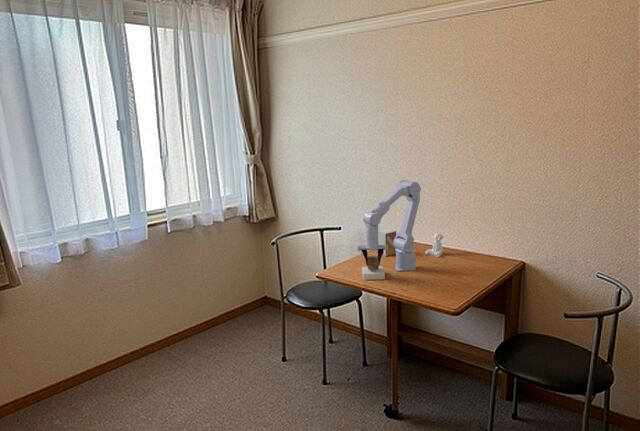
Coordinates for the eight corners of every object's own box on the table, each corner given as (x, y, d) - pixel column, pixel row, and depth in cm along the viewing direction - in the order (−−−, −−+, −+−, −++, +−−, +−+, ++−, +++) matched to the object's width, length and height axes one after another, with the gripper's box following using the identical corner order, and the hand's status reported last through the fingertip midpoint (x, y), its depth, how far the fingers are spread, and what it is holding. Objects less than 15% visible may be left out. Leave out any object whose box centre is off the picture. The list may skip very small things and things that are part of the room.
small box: (385, 256, 254) (385, 233, 251) (378, 254, 259) (377, 231, 256) (396, 253, 258) (396, 230, 256) (389, 251, 264) (388, 228, 261)
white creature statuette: (424, 254, 255) (424, 232, 253) (434, 250, 260) (434, 230, 258) (438, 257, 248) (438, 236, 245) (448, 254, 253) (448, 233, 250)
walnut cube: (377, 265, 228) (377, 256, 227) (378, 269, 223) (378, 259, 222) (367, 266, 228) (367, 256, 227) (368, 269, 223) (367, 259, 222)
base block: (382, 271, 231) (382, 266, 230) (384, 279, 221) (384, 273, 220) (362, 272, 231) (362, 266, 230) (363, 279, 221) (363, 273, 221)
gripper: (386, 234, 225) (387, 261, 228) (356, 235, 226) (357, 262, 229) (388, 238, 219) (388, 265, 222) (357, 239, 219) (358, 267, 222)
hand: (372, 264), depth 225 cm, fingers closed on walnut cube, 5 cm apart
